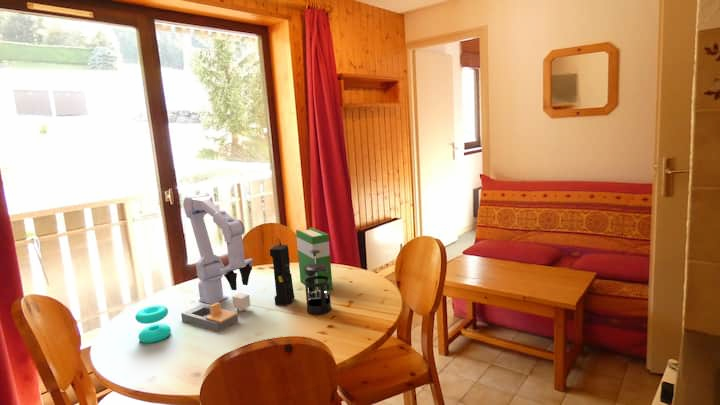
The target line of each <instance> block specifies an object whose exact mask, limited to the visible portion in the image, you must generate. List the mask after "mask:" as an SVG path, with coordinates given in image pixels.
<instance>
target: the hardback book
mask: <svg viewBox="0 0 720 405" xmlns="http://www.w3.org/2000/svg"><path fill="white" fill-rule="evenodd" d="M295 235H296V244H297V257H298V258H297V259H298V268H299V269H298V270H299V280H300V283H301V284H302V285H304V286H305V279H307V278H308V275H306V274H305V270H304V267H305V266H307V265H310V264H315V259H316V263H323V264H327V265H328V268H327V272H325V271H323V270H322V271H318V272H317V276H327V277H328V278H329V291H333V277H332V265H331V263H332V262H331V250H330V239H329V234H328V233H326V232H323V231H321V230H318V229H316V228H313V227H309V229H306V230H299V229H296V230H295ZM312 250H319V251H320V252H319V253H316V256H315V258H314V255H313V254H310V253H309V251H312ZM313 276H316V273H315V274H314V275H313ZM325 281H326V280H325V279H317V282H316V279H314V282H315V284H317V283H322V282H325ZM307 283H308V282H307ZM308 289H309V287H308ZM315 290H317V287H315ZM318 290H320V287H318ZM325 290H326V291H327V285H325Z"/></svg>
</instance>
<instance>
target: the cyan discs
mask: <svg viewBox="0 0 720 405" xmlns="http://www.w3.org/2000/svg"><path fill="white" fill-rule="evenodd" d="M168 314H169V310H168V308H167V307H166V306H164V305H161V304H160V305H159V304H157V305H150V306H147V307H144V308H142V309H140V310H138V311H137V313H136V314H135V320H136V321H137V322H138V323H139V324H144V325H145V324H148V326H146V327H145V328H143V329H141V331H140V332H139V333H138V340H139V341H140V342H141V343H144V344H153V343H157V342H160V341H162V340H165V339H166V338H168V336H170V334H171V332H172V329H171V327H170V325H167V324H166V323H157V322H160V321H162V320H163V319H165V317H166V316H168Z"/></svg>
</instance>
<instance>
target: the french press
mask: <svg viewBox="0 0 720 405" xmlns="http://www.w3.org/2000/svg"><path fill="white" fill-rule="evenodd" d="M319 252H320V251H319V250H312V251H309V253H310V254H313V255H314V258H315V256H316V253H319ZM327 268H328V265H327V264H323V263H316V259H315V264H310V265H307V266H305V267H304V270H305V274H306V275H308V278H307V279H305V285H304V289H305V296H306V297H305V298H306V313H307V314H309V315H311V316H322V315H326V314H329V313H330V312H332V309H333V308H332V307H333V306H332V302H331V293H330V292H331V290H329V278H328V277H327V276H317V272H318V271H322V270H323V271H325V272H327ZM315 273H316V276H313V275H314V274H315ZM314 279H316V282H317V279H325V280H326V281H325V282H322V283H317V284H315V282H314ZM307 282H308V283H307ZM325 285H327V291H326V290H325ZM308 287H309V288H308ZM315 287H317V290H315ZM318 287H320V290H318Z"/></svg>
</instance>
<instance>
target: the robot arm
mask: <svg viewBox="0 0 720 405" xmlns="http://www.w3.org/2000/svg"><path fill="white" fill-rule="evenodd" d="M182 205H183V210H184V213H185V216H186V218H188V219H189V220H190V223H191V228H192V230H193V235H194V238H195V241H196V245H197V248H198V253H199V256H200V258H199V259H198V261H197V262H196V263H195V268H196V275H197V278H198V280H199V282H198V293H199V298H198V301H199V302H202V303H206V304H210V305H212V304H215V303H217V302H219V303H220V302H221V301H223V300H225V299H228V298H229V296H228V295H224V291H223V282H222V278H223V276H224V278H225V279H226V281H227V282H228V284H229V287H230V289H231V290H232V291H237V289H238V288H237V278H238V277H237V276H238V273H237V272H235V271H236V270H239V272H240V276H241V282H242V283H241V284H242V285H243V286H248V284H249V278H250V275H251V271H252V270H253V265H254V258H247V259H245V252H244V245H243V244H244V243H243V235H244V233H245V225H244V223H243V221H242V220H241V219H234V218H233V217H232V216H231V215H230V214H228V213H227V212H226V211H225V210H220V209H219V207H217V206H216V204H215V203H214V202H213V197H212V196H211V194H209V193H207V192H206V193H202V194H195V195H189V196H188V195H186V196H184V199H183V203H182ZM207 214H208V215H209V216H211V217H212V221H213V222H214V224H216V225H217V226H218V227H219V229H221V232H222V235H223V237H224V241H225V243H226V247H227V248H226V250H227V256H228V257H227V258H228V264H227V265H226V266H225V265H224V263H223V261H222V258H221V257H220V256H218V255H216V254H214V251H213V247H212V244H211V239H210V237H209V233H208V229H207V226H206V223H205V219H204V217H205V216H206V215H207Z"/></svg>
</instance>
